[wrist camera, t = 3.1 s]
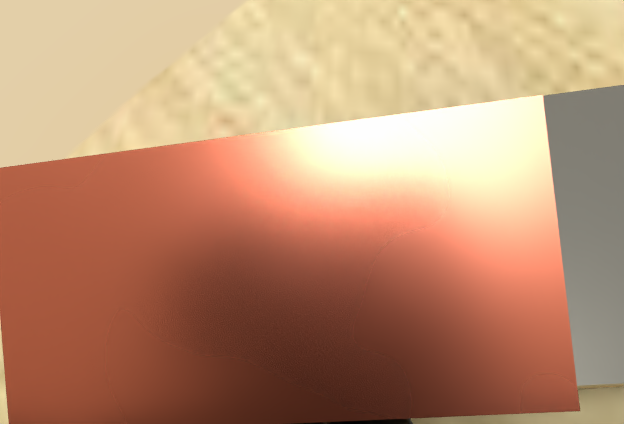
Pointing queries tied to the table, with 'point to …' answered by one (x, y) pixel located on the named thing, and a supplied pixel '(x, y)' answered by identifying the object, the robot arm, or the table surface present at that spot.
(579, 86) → the table surface
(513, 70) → the table surface
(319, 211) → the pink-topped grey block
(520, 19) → the table surface
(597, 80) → the table surface
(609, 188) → the switch box
